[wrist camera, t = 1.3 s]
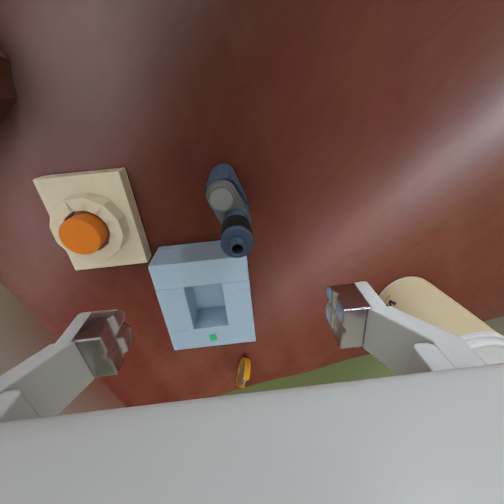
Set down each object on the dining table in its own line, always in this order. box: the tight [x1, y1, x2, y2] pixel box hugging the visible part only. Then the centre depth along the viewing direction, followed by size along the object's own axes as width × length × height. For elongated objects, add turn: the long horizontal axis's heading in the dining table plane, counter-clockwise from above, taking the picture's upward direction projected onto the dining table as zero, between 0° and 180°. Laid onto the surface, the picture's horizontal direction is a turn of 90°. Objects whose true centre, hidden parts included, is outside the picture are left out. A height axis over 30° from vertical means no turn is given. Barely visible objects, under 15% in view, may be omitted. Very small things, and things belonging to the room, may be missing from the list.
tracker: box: [237, 357, 251, 388], centre depth 39 cm, size 4×1×4 cm, turn 161°
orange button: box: [59, 213, 108, 254], centre depth 25 cm, size 4×4×2 cm
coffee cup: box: [379, 277, 504, 365], centre depth 31 cm, size 9×9×12 cm
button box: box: [33, 167, 152, 270], centre depth 27 cm, size 10×8×4 cm
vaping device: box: [205, 164, 254, 258], centre depth 22 cm, size 3×5×12 cm, turn 25°
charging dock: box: [148, 240, 256, 350], centre depth 31 cm, size 12×10×5 cm
